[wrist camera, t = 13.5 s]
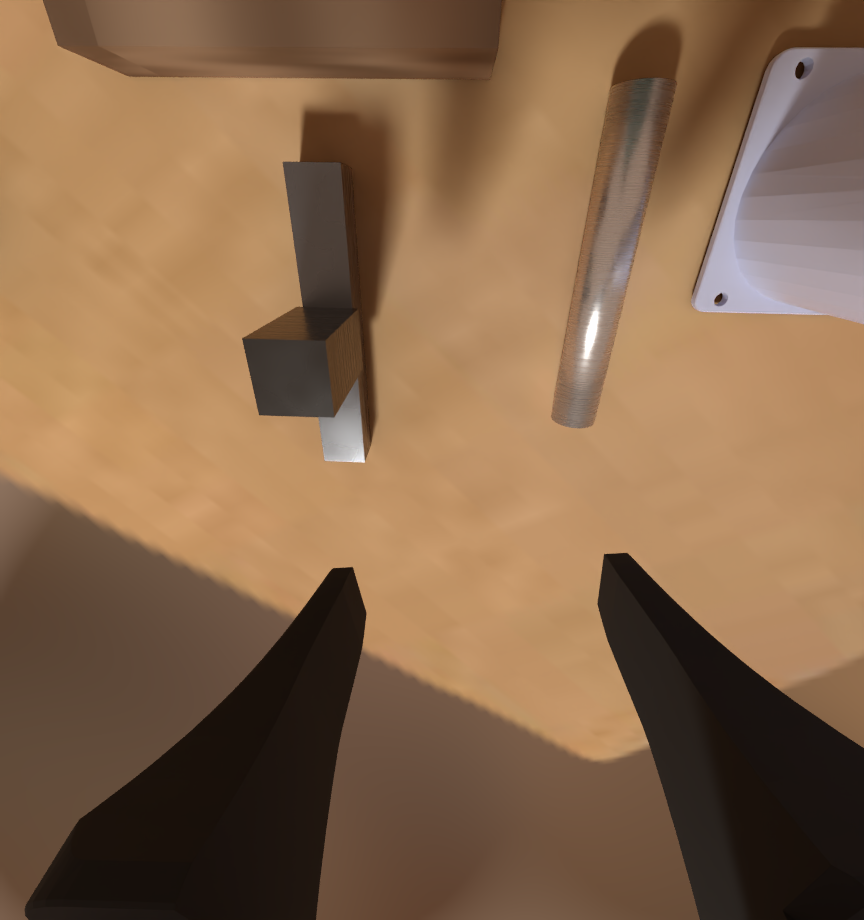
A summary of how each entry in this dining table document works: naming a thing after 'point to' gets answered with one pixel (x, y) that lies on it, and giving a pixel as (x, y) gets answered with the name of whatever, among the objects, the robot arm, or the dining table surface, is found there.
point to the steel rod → (610, 241)
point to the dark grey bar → (318, 319)
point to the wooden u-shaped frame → (283, 37)
